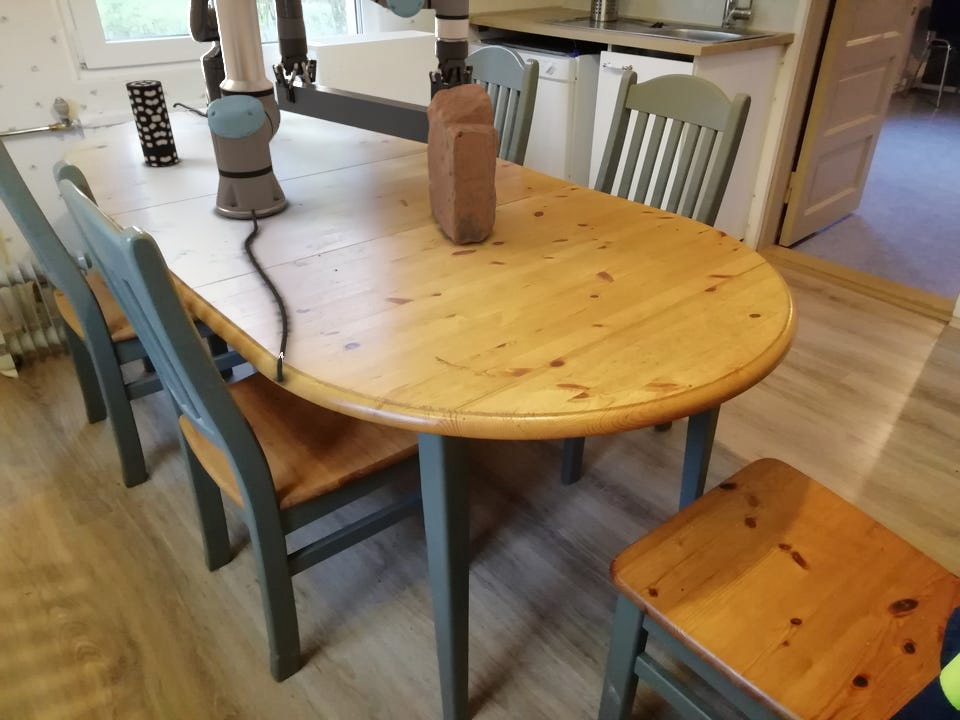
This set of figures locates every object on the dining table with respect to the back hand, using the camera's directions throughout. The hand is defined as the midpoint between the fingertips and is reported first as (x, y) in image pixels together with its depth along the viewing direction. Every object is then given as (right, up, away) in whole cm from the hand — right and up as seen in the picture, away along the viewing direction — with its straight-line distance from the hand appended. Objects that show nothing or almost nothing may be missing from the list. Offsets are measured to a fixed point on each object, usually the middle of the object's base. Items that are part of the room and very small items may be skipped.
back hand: (299, 100), depth 194 cm
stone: (+47, -44, -44) cm, 78 cm away
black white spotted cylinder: (-35, -11, -13) cm, 39 cm away
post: (+22, -12, -12) cm, 28 cm away
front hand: (+44, -20, -27) cm, 55 cm away
